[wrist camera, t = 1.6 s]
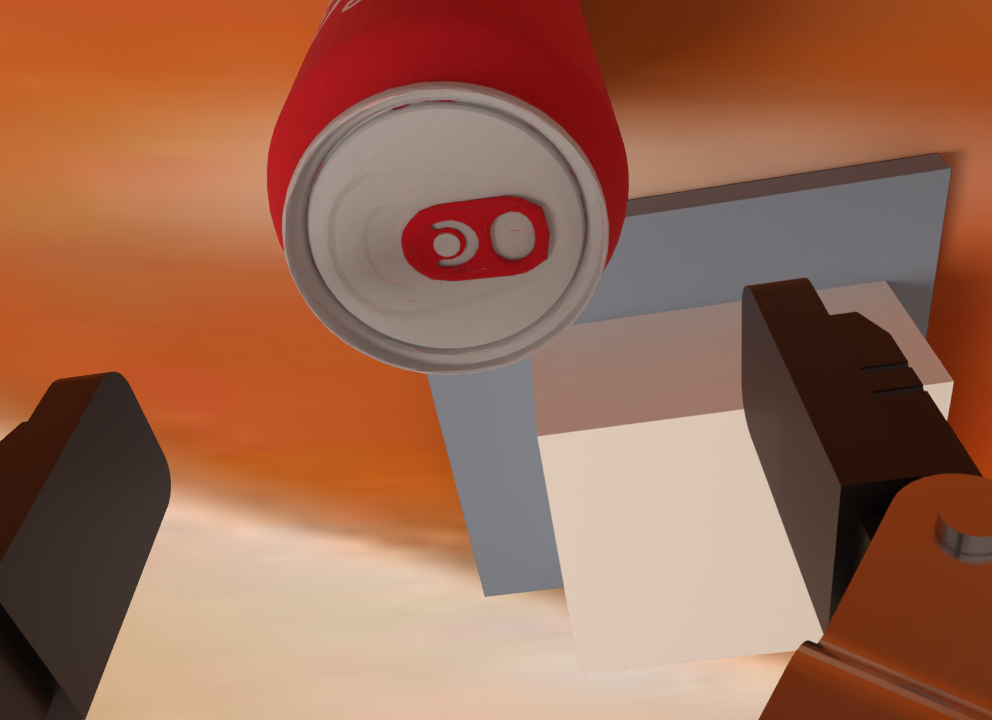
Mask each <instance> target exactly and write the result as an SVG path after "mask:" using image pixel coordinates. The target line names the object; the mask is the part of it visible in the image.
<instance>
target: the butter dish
mask: <svg viewBox="0 0 992 720" xmlns="http://www.w3.org/2000/svg"><path fill="white" fill-rule="evenodd" d="M950 174H951V167H950V166H949V165H948V164H947V163H946V162H945V161H944V160H943V159H942V158H941V157H940V156H939V155H938V154H930V155H923V156H917V157H910V158H904V159H897V160H891V161H884V162H877V163H871V164H864V165H858V166H851V167H844V168H838V169H831V170H825V171H818V172H812V173H805V174H798V175H792V176H785V177H779V178H772V179H765V180H759V181H752V182H746V183H739V184H733V185H726V186H719V187H713V188H706V189H700V190H693V191H686V192H680V193H673V194H667V195H660V196H654V197H647V198H640V199H634V200H628V202H627V209H626V215H625V221H624V224H623V227H622V231H621V234H620V238H619V241H618V243H617V246H616V248H615V251H614V253H613V255H612V258H611V259H610V261H609V263H608V265H607V266H606V268H605V270H604V272H603V273H602V277H601V279H600V281H599V284H598V286H597V289H596V291H595V293H594V295H593V296H592V298H591V300H590V301H589V303H588V305H587V306H586V308H585V309H584V311H583V312H582V313H581V314H580V316H579V317H578V318H577V319H576V320H575V322H574V323H573V324H572V325H571V327H570V328H569V329H567V330H566V331H565V332H564V333H562V334H561V335H560V336H559V337H558V338H556V339H555V340H554V341H553V342H551V343H550V344H549V345H548V346H546V347H544V348H543V349H541V350H539V351H538V352H536V353H535V354H533V355H531V356H529V357H527V358H525V359H522V360H520V361H518V362H515V363H513V364H510V365H507V366H504V367H500V368H497V369H494V370H489V371H484V372H478V373H473V374H458V375H439V374H427V376H428V380H429V384H430V387H431V391H432V395H433V399H434V403H435V407H436V411H437V414H438V418H439V422H440V426H441V430H442V434H443V437H444V441H445V445H446V449H447V453H448V457H449V460H450V464H451V468H452V472H453V476H454V480H455V484H456V487H457V491H458V495H459V499H460V503H461V507H462V510H463V514H464V518H465V522H466V526H467V530H468V534H469V537H470V541H471V545H472V549H473V553H474V557H475V560H476V564H477V568H478V572H479V576H480V580H481V583H482V587H483V591H484V595H485V597H487V596H495V595H504V594H512V593H521V592H529V591H538V590H546V589H555V588H563V587H564V589H565V595H566V601H567V606H568V612H569V617H570V623H571V629H572V634H573V640H574V646H575V651H576V657H577V662H578V668H579V674H588V673H597V672H606V671H615V670H624V669H633V668H642V667H651V666H660V665H669V664H678V663H687V662H696V661H705V660H715V659H724V658H733V657H742V656H751V655H760V654H769V653H778V652H787V651H796V650H797V649H798V648H799V647H800V645H801V644H802V643H803V642H805V641H807V640H809V641H812V642H814V643H818V642H819V641H820V639H821V638H822V636H823V632H822V629H821V626H820V623H819V621H818V618H817V615H816V613H815V610H814V607H813V604H812V602H811V599H810V596H809V594H808V591H807V588H806V585H805V583H804V580H803V577H802V575H801V572H800V569H799V566H798V564H797V561H796V558H795V556H794V553H793V550H792V547H791V545H790V542H789V539H788V537H787V534H786V531H785V528H784V526H783V523H782V520H781V517H780V515H779V512H778V509H777V507H776V504H775V501H774V498H773V496H772V493H771V490H770V488H769V485H768V482H767V479H766V477H765V474H764V471H763V469H762V466H761V463H760V460H759V458H758V455H757V452H756V450H755V447H754V444H753V441H752V439H751V436H750V433H749V430H748V426H747V422H746V418H745V413H744V407H743V399H742V384H741V365H742V293H743V289H744V287H745V286H748V285H755V284H762V283H769V282H777V281H784V280H791V279H798V278H808V279H809V280H810V282H811V283H812V285H813V287H814V288H815V290H816V292H817V294H818V295H819V297H820V299H821V301H822V302H823V304H824V306H825V308H826V309H827V311H828V313H829V315H834V314H842V313H849V312H856V311H857V312H858V313H860V314H861V315H863V316H864V317H866V318H867V319H869V320H870V321H872V322H873V323H875V324H876V325H878V326H879V327H881V328H883V329H884V330H886V331H887V332H889V333H890V334H891V336H892V337H893V339H894V340H895V342H896V343H897V345H898V347H899V348H900V350H901V351H902V353H903V354H904V356H905V357H906V359H907V360H908V365H909V367H912V368H913V370H914V371H915V373H916V374H917V376H918V377H919V379H920V380H921V382H922V384H923V389H924V391H928V393H929V394H930V396H931V397H932V399H933V401H934V402H935V404H936V405H937V407H938V408H939V410H940V411H941V413H942V414H943V416H944V417H945V419H946V421H947V418H948V412H949V407H950V401H951V395H952V390H953V384H954V381H953V379H952V378H951V376H950V375H949V373H948V372H947V370H946V369H945V367H944V366H943V365H942V363H941V362H940V360H939V359H938V357H937V356H936V354H935V353H934V351H933V350H932V348H931V347H930V345H929V344H928V343H927V341H926V335H927V329H928V322H929V315H930V308H931V302H932V295H933V288H934V282H935V275H936V268H937V261H938V255H939V248H940V241H941V235H942V228H943V221H944V214H945V208H946V201H947V194H948V188H949V181H950Z"/></svg>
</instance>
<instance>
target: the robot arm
mask: <svg viewBox="0 0 992 720" xmlns="http://www.w3.org/2000/svg"><path fill="white" fill-rule="evenodd" d="M741 384H742V399H743V407H744V413H745V418H746V422H747V426H748V430H749V433H750V436H751V439H752V441H753V444H754V447H755V450H756V452H757V455H758V458H759V460H760V463H761V466H762V469H763V471H764V474H765V477H766V479H767V482H768V485H769V488H770V490H771V493H772V496H773V498H774V501H775V504H776V507H777V509H778V512H779V515H780V517H781V520H782V523H783V526H784V528H785V531H786V534H787V537H788V539H789V542H790V545H791V547H792V550H793V553H794V556H795V558H796V561H797V564H798V566H799V569H800V572H801V575H802V577H803V580H804V583H805V585H806V588H807V591H808V594H809V596H810V599H811V602H812V604H813V607H814V610H815V613H816V615H817V618H818V621H819V623H820V626H821V629H822V632H823V636H822V638H821V639H820V641H819V642H818V643H814V642H812V641H809V640H807V641H805V642H803V643H802V644H801V645H800V647H799V648H798V649H797V650H796V652H795V653H794V655H793V656H792V658H791V660H790V662H789V663H788V665H787V667H786V669H785V671H784V673H783V674H782V676H781V678H780V680H779V682H778V684H777V686H776V688H775V690H774V691H773V693H772V695H771V697H770V699H769V701H768V703H767V705H766V707H765V708H764V710H763V712H762V714H761V716H760V718H759V720H992V479H988V478H984V477H983V476H982V475H981V473H980V471H979V470H978V468H977V467H976V465H975V464H974V462H973V461H972V459H971V458H970V456H969V455H968V453H967V451H966V450H965V448H964V447H963V445H962V444H961V442H960V441H959V439H958V438H957V436H956V434H955V433H954V431H953V430H952V428H951V427H950V425H949V424H948V422H947V421H946V419H945V417H944V416H943V414H942V413H941V411H940V410H939V408H938V407H937V405H936V404H935V402H934V401H933V399H932V397H931V396H930V394H929V393H928V391H924V389H923V384H922V382H921V380H920V379H919V377H918V376H917V374H916V373H915V371H914V370H913V368H912V367H909V365H908V360H907V359H906V357H905V356H904V354H903V353H902V351H901V350H900V348H899V347H898V345H897V343H896V342H895V340H894V339H893V337H892V336H891V334H890V333H889V332H887V331H886V330H884V329H883V328H881V327H879V326H878V325H876V324H875V323H873V322H872V321H870V320H869V319H867V318H866V317H864V316H863V315H861V314H860V313H858V312H857V311H856V312H849V313H842V314H834V315H829V313H828V311H827V309H826V308H825V306H824V304H823V302H822V301H821V299H820V297H819V295H818V294H817V292H816V290H815V288H814V287H813V285H812V283H811V282H810V280H809V279H808V278H798V279H791V280H784V281H777V282H769V283H762V284H755V285H748V286H745V287H744V289H743V293H742V365H741ZM170 492H171V480H170V472H169V467H168V464H167V461H166V458H165V456H164V454H163V452H162V450H161V448H160V446H159V444H158V441H157V439H156V437H155V435H154V433H153V431H152V429H151V427H150V425H149V423H148V421H147V419H146V417H145V415H144V413H143V411H142V409H141V407H140V405H139V403H138V401H137V399H136V397H135V395H134V393H133V391H132V389H131V387H130V385H129V383H128V382H127V380H126V379H125V378H124V377H123V376H122V375H121V374H119V373H117V372H107V373H100V374H92V375H85V376H78V377H71V378H63V379H58V380H56V381H54V382H53V383H52V384H51V385H50V387H49V388H48V390H47V391H46V393H45V395H44V396H43V398H42V399H41V401H40V403H39V404H38V406H37V407H36V409H35V411H34V412H33V414H32V415H31V417H30V419H29V420H28V422H22V423H21V424H20V425H18V426H17V427H16V428H15V429H14V430H13V431H12V432H11V433H9V434H8V435H7V436H6V437H5V438H4V439H3V440H1V441H0V720H85V719H86V716H87V714H88V711H89V708H90V706H91V703H92V701H93V698H94V695H95V693H96V690H97V688H98V685H99V683H100V680H101V677H102V675H103V672H104V670H105V667H106V664H107V662H108V659H109V657H110V654H111V651H112V649H113V646H114V644H115V641H116V639H117V636H118V633H119V631H120V628H121V626H122V623H123V620H124V618H125V615H126V613H127V610H128V608H129V605H130V602H131V600H132V597H133V595H134V592H135V589H136V587H137V584H138V582H139V579H140V577H141V574H142V571H143V569H144V566H145V564H146V561H147V558H148V556H149V553H150V551H151V548H152V546H153V543H154V540H155V538H156V535H157V533H158V530H159V527H160V525H161V522H162V520H163V517H164V514H165V512H166V509H167V507H168V504H169V499H170Z"/></svg>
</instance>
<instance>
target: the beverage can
mask: <svg viewBox="0 0 992 720" xmlns="http://www.w3.org/2000/svg"><path fill="white" fill-rule="evenodd" d="M267 190H268V199H269V207H270V212H271V216H272V220H273V223H274V227H275V231H276V233H277V236H278V239H279V242H280V244H281V247H282V249H283V251H284V253H285V258H286V261H287V264H288V268H289V270H290V273H291V275H292V278H293V280H294V282H295V285H296V287H297V289H298V291H299V292H300V294H301V296H302V297H303V299H304V300H305V302H306V303H307V305H308V306H309V308H310V309H311V311H312V312H313V313H314V314H315V315H316V316H317V317H318V319H319V320H320V321H321V322H322V323H323V324H324V325H325V326H326V327H327V328H328V329H329V330H330V331H331V332H332V333H334V334H335V335H336V336H337V337H339V338H340V339H341V340H343V341H344V342H345V343H346V344H348V345H350V346H351V347H353V348H355V349H356V350H358V351H360V352H361V353H363V354H365V355H367V356H369V357H371V358H373V359H376V360H378V361H380V362H382V363H385V364H388V365H391V366H395V367H398V368H401V369H404V370H409V371H414V372H419V373H426V374H439V375H458V374H473V373H478V372H484V371H489V370H494V369H497V368H500V367H504V366H507V365H510V364H513V363H515V362H518V361H520V360H522V359H525V358H527V357H529V356H531V355H533V354H535V353H536V352H538V351H539V350H541V349H543V348H544V347H546V346H548V345H549V344H550V343H551V342H553V341H554V340H555V339H556V338H558V337H559V336H560V335H561V334H562V333H564V332H565V331H566V330H567V329H569V328H570V327H571V325H572V324H573V323H574V322H575V320H576V319H577V318H578V317H579V316H580V314H581V313H582V312H583V311H584V309H585V308H586V306H587V305H588V303H589V301H590V300H591V298H592V296H593V295H594V293H595V291H596V289H597V286H598V284H599V281H600V279H601V277H602V273H603V272H604V270H605V268H606V266H607V265H608V263H609V261H610V259H611V258H612V255H613V253H614V251H615V248H616V246H617V243H618V241H619V238H620V234H621V231H622V227H623V224H624V221H625V215H626V209H627V202H628V191H629V173H628V164H627V157H626V152H625V147H624V143H623V140H622V137H621V134H620V131H619V127H618V124H617V121H616V118H615V115H614V111H613V108H612V105H611V102H610V99H609V95H608V92H607V89H606V86H605V83H604V79H603V76H602V73H601V70H600V66H599V63H598V60H597V57H596V54H595V50H594V47H593V44H592V41H591V38H590V34H589V31H588V28H587V25H586V22H585V18H584V15H583V12H582V9H581V6H580V2H579V0H331V1H330V3H329V5H328V7H327V10H326V12H325V14H324V16H323V19H322V21H321V23H320V25H319V28H318V30H317V32H316V34H315V37H314V39H313V41H312V43H311V46H310V48H309V50H308V52H307V55H306V57H305V59H304V61H303V64H302V66H301V68H300V70H299V73H298V75H297V77H296V79H295V82H294V84H293V86H292V88H291V91H290V93H289V95H288V97H287V100H286V102H285V104H284V106H283V109H282V111H281V113H280V116H279V118H278V121H277V123H276V125H275V128H274V132H273V135H272V139H271V143H270V148H269V154H268V164H267Z"/></svg>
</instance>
